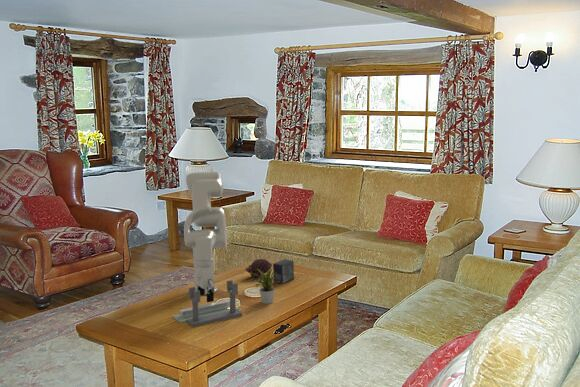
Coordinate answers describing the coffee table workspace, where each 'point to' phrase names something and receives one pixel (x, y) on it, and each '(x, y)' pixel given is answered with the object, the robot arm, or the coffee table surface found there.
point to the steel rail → (205, 308)
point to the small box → (283, 271)
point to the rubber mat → (198, 315)
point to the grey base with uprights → (216, 317)
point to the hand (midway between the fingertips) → (205, 298)
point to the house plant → (266, 287)
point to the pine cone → (259, 267)
